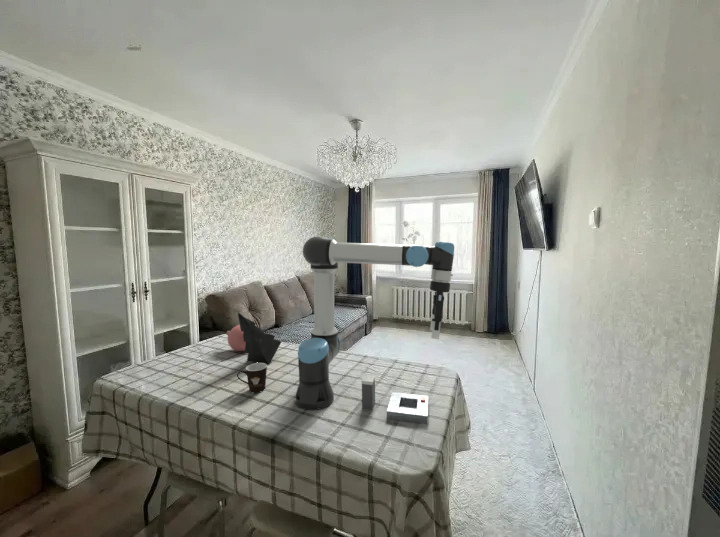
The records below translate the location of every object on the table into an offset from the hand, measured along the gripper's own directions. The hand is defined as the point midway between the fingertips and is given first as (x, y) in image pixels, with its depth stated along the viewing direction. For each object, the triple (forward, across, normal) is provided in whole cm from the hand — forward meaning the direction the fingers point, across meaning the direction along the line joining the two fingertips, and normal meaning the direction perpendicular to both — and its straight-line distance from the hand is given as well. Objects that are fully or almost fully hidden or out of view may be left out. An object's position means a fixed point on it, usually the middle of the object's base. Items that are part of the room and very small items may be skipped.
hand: (434, 334), depth 121 cm
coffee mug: (+34, -5, +72) cm, 80 cm away
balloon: (+35, +39, +107) cm, 119 cm away
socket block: (+27, -11, +7) cm, 30 cm away
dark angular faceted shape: (+34, +22, +86) cm, 95 cm away
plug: (+29, -11, +22) cm, 37 cm away
